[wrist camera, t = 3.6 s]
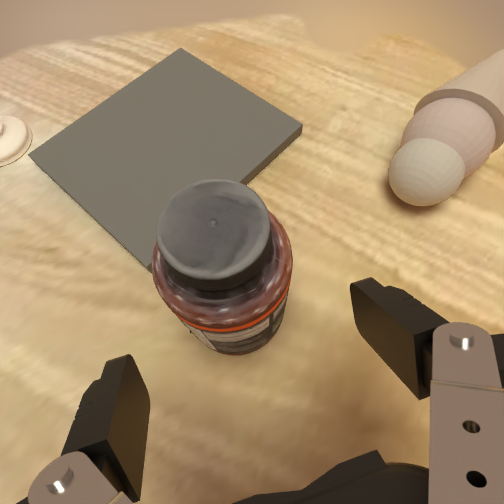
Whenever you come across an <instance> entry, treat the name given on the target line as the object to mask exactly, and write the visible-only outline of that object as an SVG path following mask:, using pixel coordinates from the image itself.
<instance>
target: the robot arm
mask: <svg viewBox="0 0 504 504" xmlns="http://www.w3.org/2000/svg"><path fill="white" fill-rule="evenodd" d="M350 293H351V300H352V306H353V313H354V319H355V323H356V326H357V329H358V331H359V333H360V334H361V336H362V337H363V338H364V339H365V340H366V342H367V343H368V344H369V345H370V346H371V347H372V348H373V349H374V350H375V352H376V353H377V354H378V355H379V356H380V357H381V358H382V359H383V360H384V362H385V363H386V364H387V365H388V366H389V367H390V368H391V369H392V371H393V372H394V373H395V374H396V375H397V376H398V377H399V378H400V379H401V381H402V382H403V383H404V384H405V385H406V386H407V387H408V388H409V389H410V391H411V392H412V393H413V394H414V395H415V396H416V397H417V398H418V400H421V399H424V398H427V397H429V396H430V446H429V469H428V468H425V467H422V466H418V465H414V464H407V463H394V462H390V463H385V462H384V460H383V459H382V457H381V456H380V454H379V452H378V451H377V450H374V451H372V452H369V453H366V454H364V455H361V456H358V457H356V458H353V459H350V460H348V461H345V462H342V463H340V464H338V465H336V466H335V467H333V468H332V469H331V470H329V471H328V472H326V473H325V474H324V475H322V476H321V477H320V478H318V479H317V480H315V481H314V482H313V483H311V484H310V485H308V486H307V487H306V488H304V489H302V490H298V491H289V492H279V493H269V494H259V495H254V496H252V497H249V498H246V499H244V500H241V501H238V502H236V503H233V504H504V334H496V335H490V334H489V333H488V332H487V331H485V330H484V329H482V328H480V327H478V326H476V325H473V324H469V323H461V322H453V323H450V322H448V321H447V320H446V319H444V318H443V317H441V316H440V315H438V314H437V313H436V312H434V311H433V310H431V309H430V308H428V307H427V306H426V305H424V304H422V303H421V302H420V301H418V300H417V299H416V298H413V296H411V295H410V294H408V293H407V292H406V291H404V290H402V289H399V288H396V287H392V286H386V287H384V286H382V285H381V284H380V283H378V282H377V281H376V280H374V279H373V278H371V277H370V278H366V279H363V280H360V281H357V282H354V283H351V284H350ZM149 414H150V398H149V394H148V390H147V388H146V385H145V383H144V381H143V379H142V377H141V374H140V372H139V370H138V368H137V365H136V363H135V361H134V359H133V357H132V356H131V355H130V354H128V355H124V356H121V357H118V358H115V359H112V360H109V361H107V362H106V364H105V367H104V370H103V373H102V376H101V379H98V380H95V381H93V383H92V384H91V385H90V386H89V388H88V389H87V390H86V391H85V393H84V394H83V397H82V399H81V402H80V405H79V409H78V410H77V413H76V416H75V420H74V421H73V424H72V426H71V429H70V432H69V434H68V437H67V440H66V442H65V445H64V448H63V451H62V453H61V456H60V457H59V458H57V459H55V460H54V461H53V462H51V463H50V464H49V465H47V466H46V467H45V468H44V469H43V470H42V471H41V472H40V473H39V475H38V476H37V477H36V478H35V480H34V481H33V483H32V485H31V487H30V489H29V493H28V497H26V498H25V499H23V500H21V501H20V502H18V503H16V504H133V503H135V502H137V501H140V496H141V487H142V478H143V469H144V460H145V451H146V441H147V432H148V423H149Z"/></svg>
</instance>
